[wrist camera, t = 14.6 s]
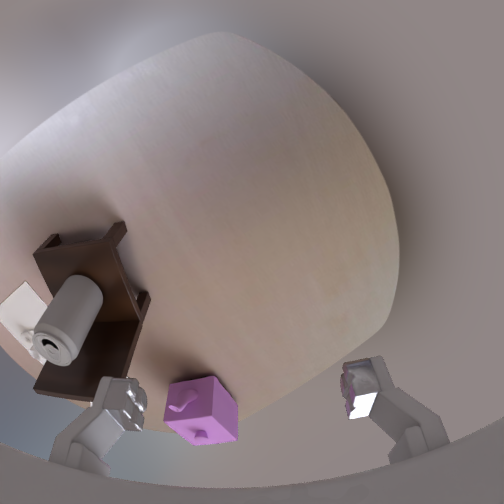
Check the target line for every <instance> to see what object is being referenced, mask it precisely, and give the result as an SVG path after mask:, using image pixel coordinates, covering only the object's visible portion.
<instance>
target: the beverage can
mask: <svg viewBox="0 0 504 504" xmlns="http://www.w3.org/2000/svg"><path fill="white" fill-rule="evenodd" d="M102 304H103V295H102V292H101V290H100V289H99V287H98V286H97V285H96V284H95V283H94V282H93V281H92V280H91V279H89V278H87V277H85V276H82V275H73V276H70V277H69V278H68V279H67V280H66V281H65V282H64V284H63V285H62V287H61V288H60V290H59V291H58V292H57V294H56V295H55V297H54V298H53V300H52V301H51V303H50V304H49V306H48V307H47V309H46V310H45V312H44V313H43V315H42V316H41V318H40V320H39V321H38V323H37V324H36V326H35V328H34V335H33V337H32V342H33V345H34V347H35V349H36V350H37V351H38V353H39V354H40V355H41V356H43V357H44V358H45V359H46V360H48V361H50V362H51V363H53V364H56V365H59V366H68V365H70V364H71V362H72V360H74V359H76V358H77V356H78V354H79V351H80V349H81V347H82V345H83V343H84V341H85V339H86V336H87V334H88V332H89V330H90V328H91V326H92V324H93V322H94V320H95V318H96V316H97V314H98V312H99V310H100V308H101V306H102Z"/></svg>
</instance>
